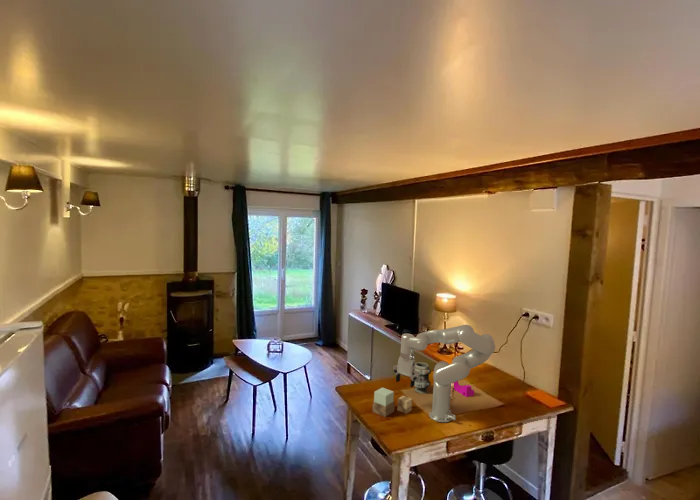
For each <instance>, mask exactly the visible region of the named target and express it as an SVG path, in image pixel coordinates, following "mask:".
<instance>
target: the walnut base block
mask: <svg viewBox="0 0 700 500" xmlns="http://www.w3.org/2000/svg"><path fill="white" fill-rule="evenodd" d="M395 402H396V401H394V400H393V402H392V403H390V404H389V405H387V406H383V405H381V404H378V403H376V402H374V401H372V411H371V412H372V413H375V414H377V415H380V416H381V417H383V418H386V417H387V418H388V416H390V415H392V414H393V413H394V412H395V405H396V404H395Z"/></svg>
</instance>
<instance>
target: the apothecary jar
mask: <svg viewBox="0 0 700 500" xmlns="http://www.w3.org/2000/svg"><path fill="white" fill-rule="evenodd" d="M415 371H417V372H418V373H419V377H418V378H417V379H416V380H415V385H414V386H413V387H415V388H413V391H414V390H415V391H416V392H419V393H418V394H420V393H425V394H427V393H428V392H427V390H428V388H430V386H431V384H432V383H431V381H430V378H429V377H430V374H431V372H432V370H431V368H430V367H429V364H428V363H426V362H415ZM414 376H416V375H414ZM415 391H414V392H415ZM416 392H415V393H416Z"/></svg>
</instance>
